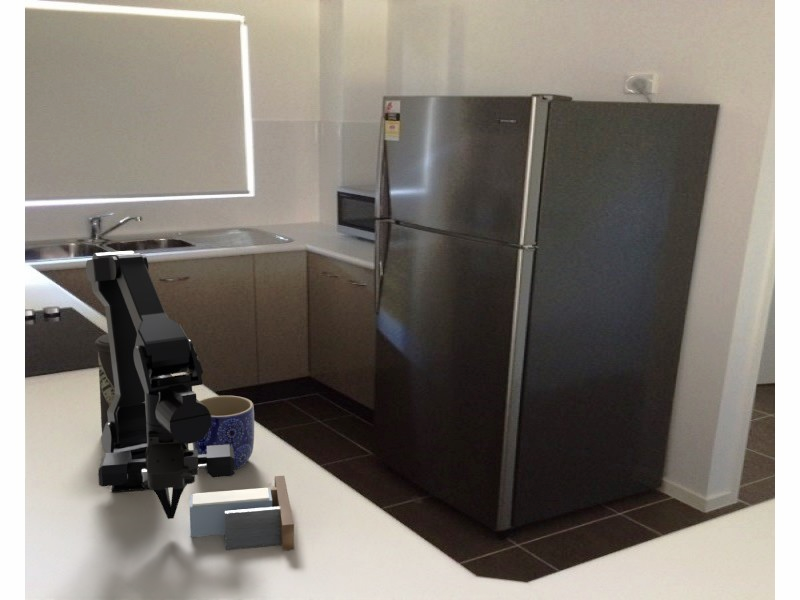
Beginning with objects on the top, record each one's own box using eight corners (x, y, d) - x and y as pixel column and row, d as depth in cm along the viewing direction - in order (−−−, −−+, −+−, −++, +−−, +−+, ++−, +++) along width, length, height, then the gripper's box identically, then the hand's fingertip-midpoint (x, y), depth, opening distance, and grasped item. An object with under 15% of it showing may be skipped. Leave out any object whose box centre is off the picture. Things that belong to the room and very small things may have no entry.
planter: (242, 480, 131) (240, 419, 129) (182, 474, 133) (180, 413, 130) (263, 454, 142) (262, 397, 139) (207, 449, 143) (206, 393, 141)
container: (90, 436, 148) (84, 337, 143) (123, 421, 156) (118, 326, 151) (126, 444, 144) (120, 343, 140) (157, 428, 153) (153, 332, 148)
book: (190, 538, 113) (189, 505, 112) (191, 524, 116) (190, 492, 115) (272, 530, 115) (272, 498, 114) (270, 517, 119) (270, 486, 118)
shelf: (225, 556, 108) (225, 530, 107) (224, 502, 123) (224, 480, 122) (293, 549, 110) (293, 524, 109) (284, 497, 125) (284, 475, 124)
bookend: (225, 550, 109) (225, 521, 108) (225, 538, 112) (224, 510, 111) (281, 544, 111) (281, 516, 110) (280, 533, 114) (279, 506, 113)
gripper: (89, 446, 100) (96, 553, 103) (234, 436, 104) (236, 539, 108) (100, 415, 110) (107, 513, 114) (232, 407, 115) (234, 502, 118)
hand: (170, 517), depth 113 cm, fingers closed
